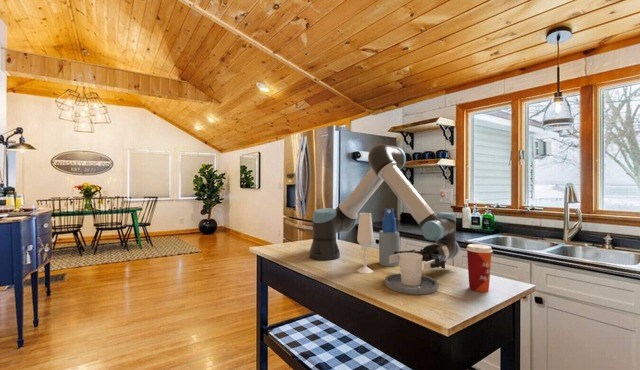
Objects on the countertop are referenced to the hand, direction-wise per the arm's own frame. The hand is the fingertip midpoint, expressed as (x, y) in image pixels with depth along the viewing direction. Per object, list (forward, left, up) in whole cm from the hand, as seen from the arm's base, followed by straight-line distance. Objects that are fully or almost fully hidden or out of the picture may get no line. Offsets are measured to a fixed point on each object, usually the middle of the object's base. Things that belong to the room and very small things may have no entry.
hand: (406, 263), depth 111 cm
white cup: (-1, +2, -8) cm, 8 cm away
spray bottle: (-31, +8, -9) cm, 33 cm away
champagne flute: (-22, -6, -9) cm, 25 cm away
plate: (-1, +2, -8) cm, 9 cm away
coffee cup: (+8, +23, -9) cm, 26 cm away
